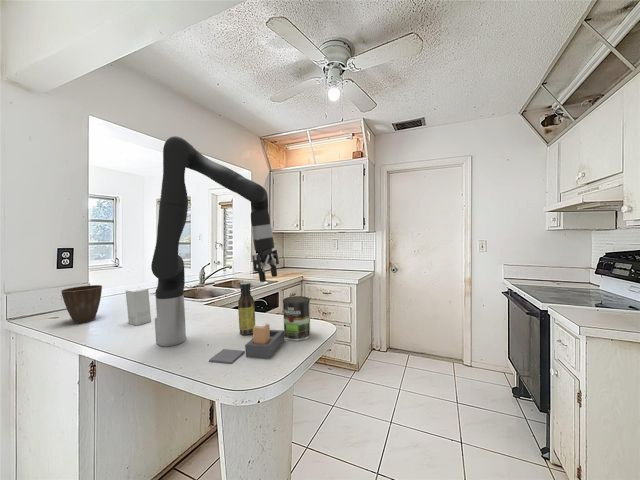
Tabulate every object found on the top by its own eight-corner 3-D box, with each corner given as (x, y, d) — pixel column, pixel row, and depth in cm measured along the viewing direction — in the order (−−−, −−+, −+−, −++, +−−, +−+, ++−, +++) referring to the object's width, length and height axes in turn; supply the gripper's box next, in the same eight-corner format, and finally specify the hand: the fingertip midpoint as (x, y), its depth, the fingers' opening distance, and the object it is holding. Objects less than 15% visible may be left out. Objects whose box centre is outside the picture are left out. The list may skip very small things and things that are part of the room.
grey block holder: (245, 357, 90) (245, 344, 90) (264, 339, 104) (263, 329, 104) (268, 358, 88) (268, 346, 88) (284, 341, 102) (284, 330, 102)
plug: (254, 355, 91) (252, 326, 91) (259, 349, 95) (258, 322, 95) (265, 355, 91) (264, 326, 90) (270, 350, 94) (269, 322, 94)
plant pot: (59, 323, 132) (56, 289, 132) (97, 314, 145) (95, 283, 144) (69, 328, 124) (66, 292, 123) (109, 319, 136) (107, 286, 136)
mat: (208, 361, 88) (208, 359, 88) (223, 350, 95) (223, 349, 95) (231, 363, 86) (231, 361, 86) (244, 352, 94) (244, 350, 94)
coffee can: (304, 342, 100) (303, 303, 100) (279, 339, 104) (277, 301, 103) (315, 332, 110) (313, 296, 110) (291, 329, 114) (290, 295, 113)
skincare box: (151, 321, 130) (149, 288, 129) (135, 326, 124) (133, 291, 124) (142, 319, 134) (140, 287, 134) (127, 323, 129) (125, 289, 128)
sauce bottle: (257, 333, 111) (255, 283, 110) (242, 336, 108) (240, 285, 107) (252, 328, 116) (250, 281, 116) (237, 332, 113) (235, 283, 112)
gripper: (264, 236, 115) (270, 275, 116) (243, 240, 101) (250, 284, 102) (280, 234, 112) (286, 274, 113) (261, 238, 99) (267, 283, 100)
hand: (269, 279), depth 108 cm, fingers open, 8 cm apart
